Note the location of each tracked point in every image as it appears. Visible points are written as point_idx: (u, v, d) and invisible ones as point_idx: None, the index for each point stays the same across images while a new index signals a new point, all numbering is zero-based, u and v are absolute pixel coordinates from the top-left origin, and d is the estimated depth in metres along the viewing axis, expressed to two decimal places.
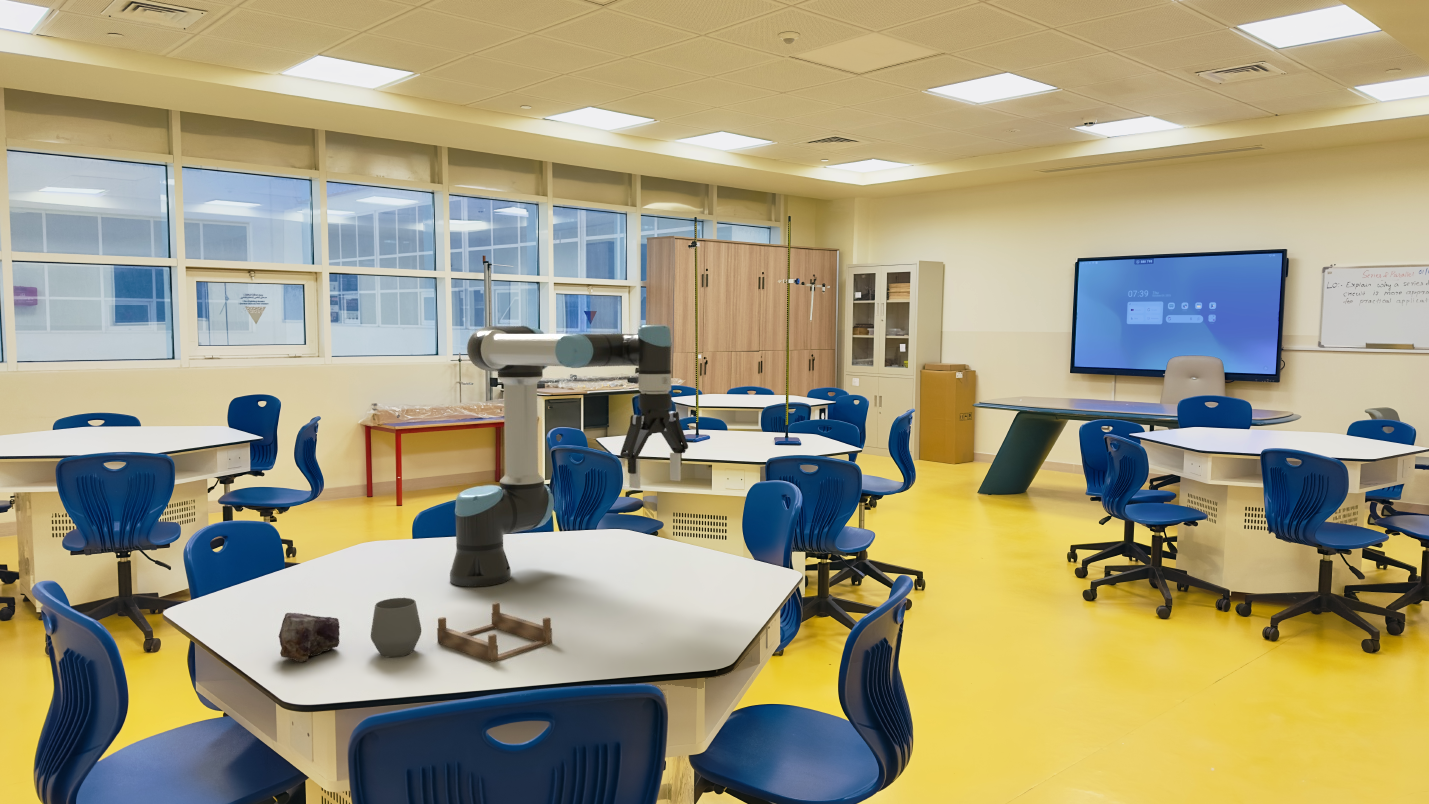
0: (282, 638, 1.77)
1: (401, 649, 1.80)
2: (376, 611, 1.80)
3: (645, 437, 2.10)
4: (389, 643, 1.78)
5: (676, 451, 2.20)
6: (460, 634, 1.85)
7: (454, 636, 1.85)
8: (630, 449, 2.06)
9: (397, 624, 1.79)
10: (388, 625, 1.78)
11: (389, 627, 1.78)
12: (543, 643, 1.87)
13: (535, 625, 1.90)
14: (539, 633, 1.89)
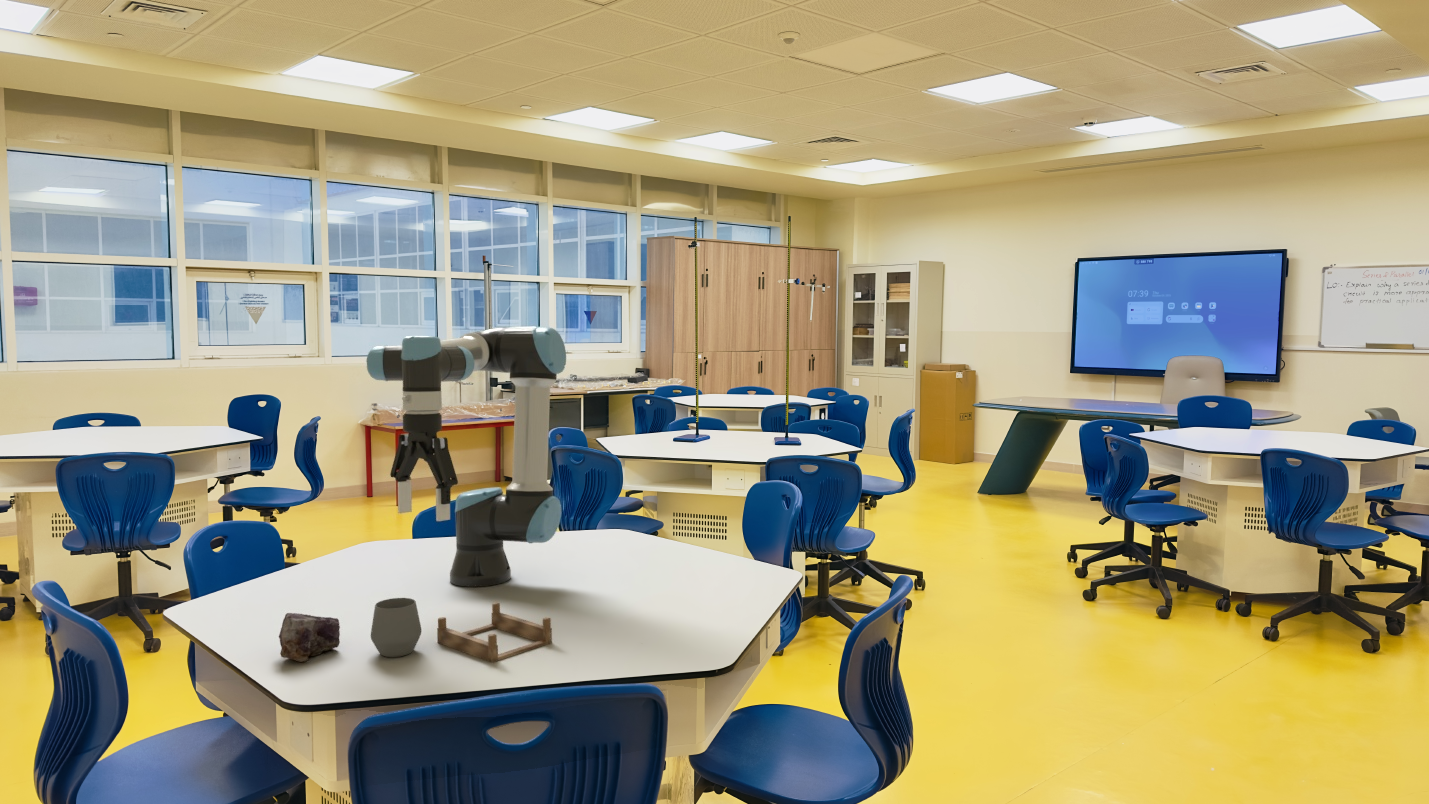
0: (282, 638, 1.77)
1: (401, 649, 1.80)
2: (376, 611, 1.80)
3: (405, 459, 1.90)
4: (389, 643, 1.78)
5: None
6: (460, 634, 1.85)
7: (454, 636, 1.85)
8: (392, 469, 1.93)
9: (397, 624, 1.79)
10: (388, 625, 1.78)
11: (389, 627, 1.78)
12: (543, 643, 1.87)
13: (535, 625, 1.90)
14: (539, 633, 1.89)
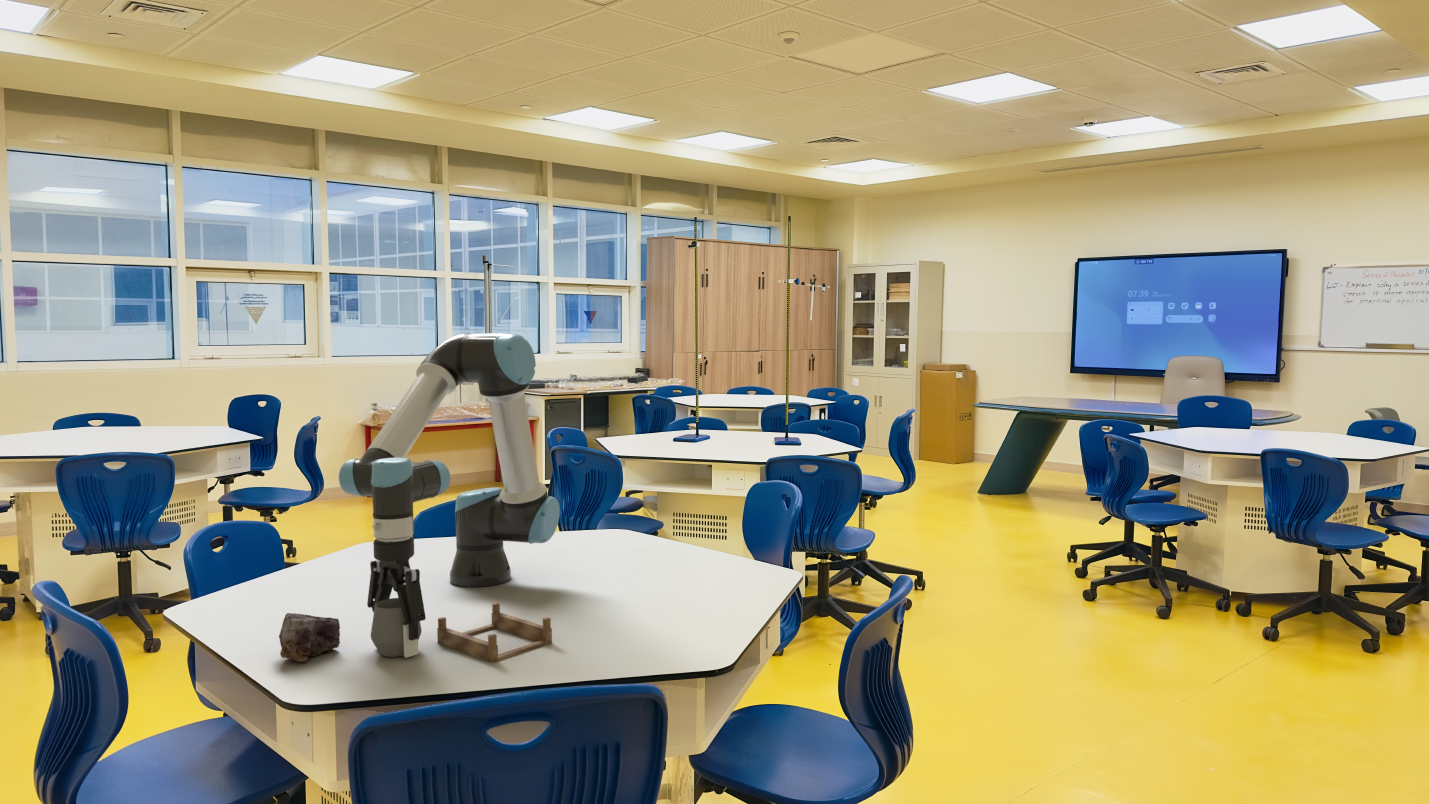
0: (282, 638, 1.77)
1: (401, 649, 1.80)
2: (376, 611, 1.80)
3: (379, 588, 1.84)
4: (389, 643, 1.78)
5: None
6: (460, 634, 1.85)
7: (454, 636, 1.85)
8: (368, 599, 1.86)
9: (397, 624, 1.79)
10: (388, 625, 1.78)
11: (389, 627, 1.78)
12: (543, 643, 1.87)
13: (535, 625, 1.90)
14: (539, 633, 1.89)
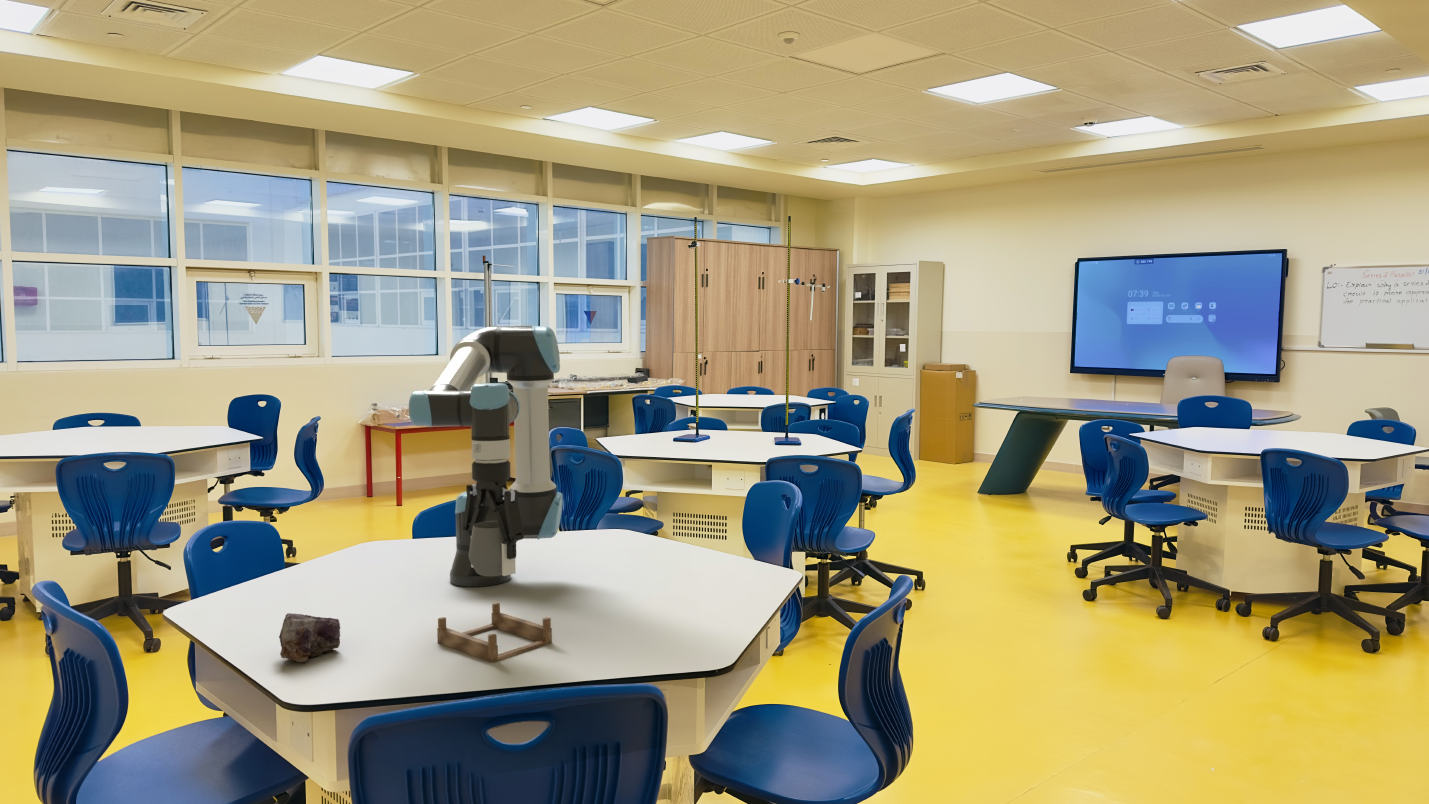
0: (282, 639, 1.77)
1: (499, 568, 1.84)
2: (474, 531, 1.85)
3: (475, 510, 1.88)
4: (488, 562, 1.83)
5: None
6: (460, 634, 1.85)
7: (454, 636, 1.85)
8: (464, 522, 1.91)
9: (495, 544, 1.83)
10: (487, 544, 1.83)
11: (488, 546, 1.83)
12: (543, 643, 1.87)
13: (535, 625, 1.90)
14: (539, 633, 1.89)
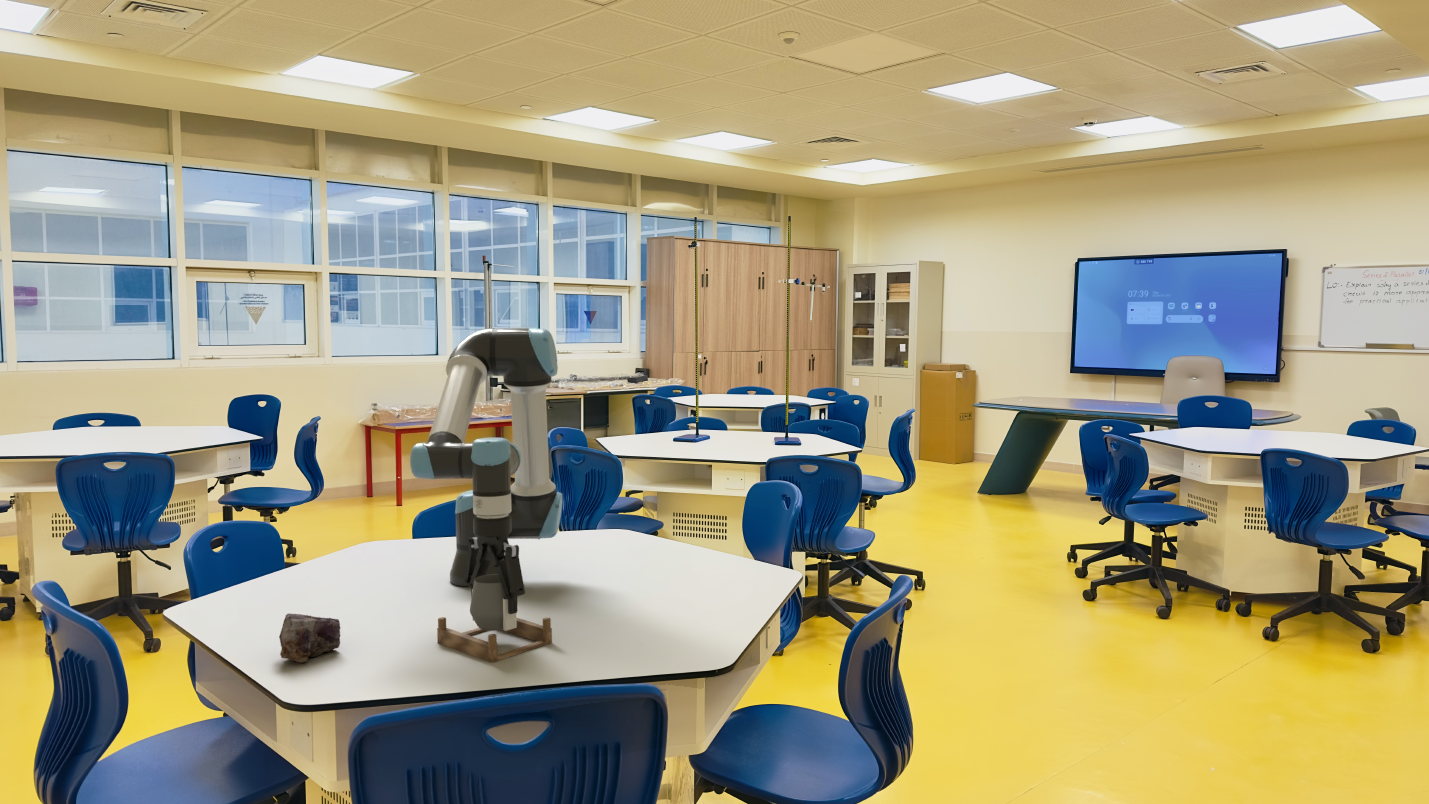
0: (282, 639, 1.76)
1: (500, 623, 1.85)
2: (476, 586, 1.85)
3: (477, 564, 1.89)
4: (489, 617, 1.84)
5: None
6: (460, 634, 1.85)
7: (454, 636, 1.85)
8: (465, 575, 1.92)
9: (497, 599, 1.84)
10: (488, 599, 1.84)
11: (489, 601, 1.84)
12: (543, 643, 1.87)
13: (535, 625, 1.90)
14: (539, 633, 1.89)
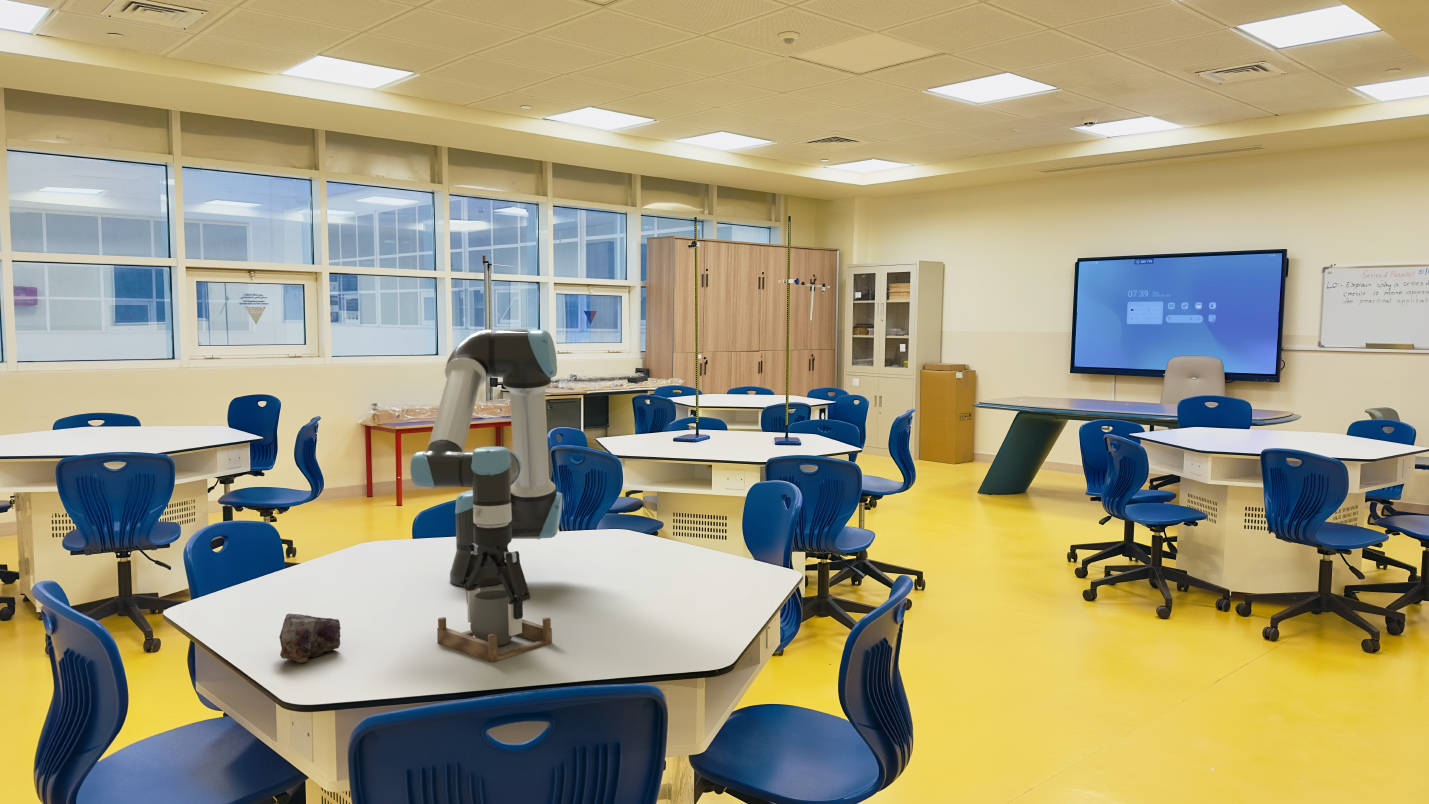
0: (282, 639, 1.76)
1: (501, 639, 1.86)
2: (476, 602, 1.86)
3: (475, 570, 1.90)
4: (490, 633, 1.84)
5: None
6: (460, 634, 1.85)
7: (454, 636, 1.85)
8: (461, 577, 1.93)
9: (497, 615, 1.85)
10: (489, 616, 1.84)
11: (490, 617, 1.84)
12: (543, 643, 1.87)
13: (535, 625, 1.90)
14: (539, 633, 1.89)
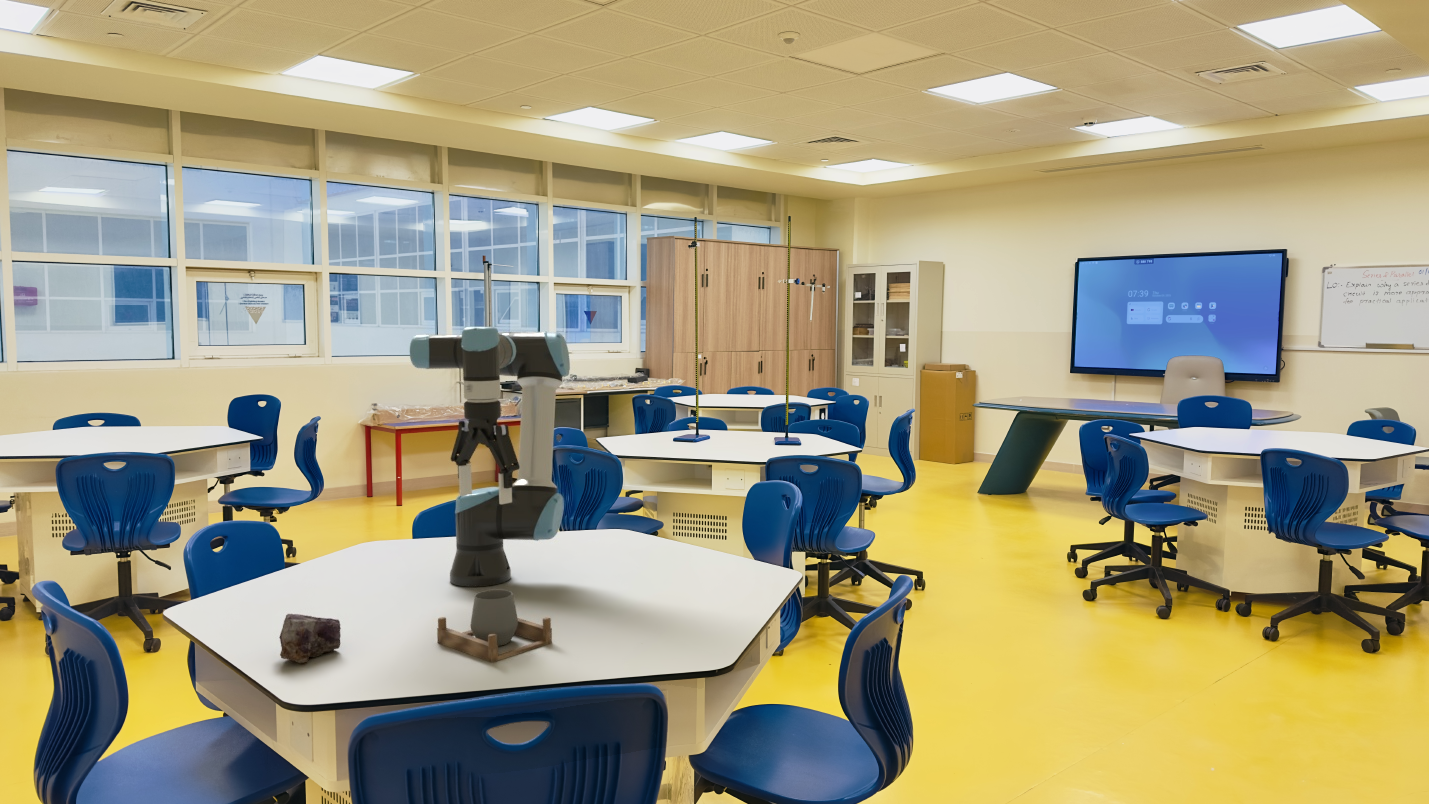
0: (282, 639, 1.76)
1: (501, 639, 1.86)
2: (476, 602, 1.86)
3: (465, 445, 1.99)
4: (490, 633, 1.84)
5: None
6: (460, 634, 1.85)
7: (454, 636, 1.85)
8: (453, 453, 2.02)
9: (497, 615, 1.85)
10: (489, 615, 1.84)
11: (490, 617, 1.84)
12: (543, 643, 1.87)
13: (535, 625, 1.90)
14: (539, 633, 1.89)
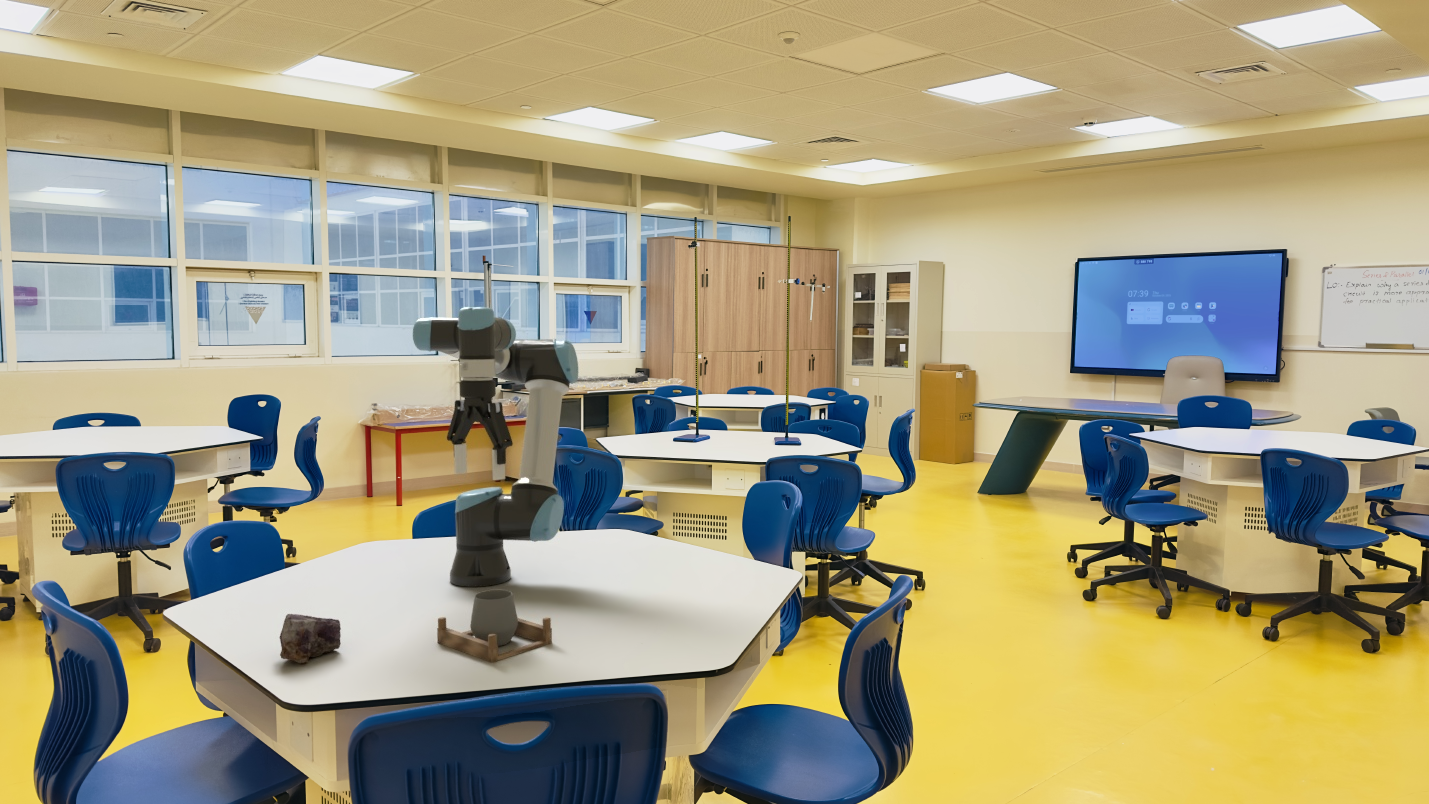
0: (282, 639, 1.76)
1: (501, 639, 1.86)
2: (476, 602, 1.86)
3: (461, 423, 2.03)
4: (490, 633, 1.84)
5: None
6: (460, 634, 1.85)
7: (454, 636, 1.85)
8: (449, 433, 2.07)
9: (497, 615, 1.85)
10: (489, 616, 1.84)
11: (490, 617, 1.84)
12: (543, 643, 1.87)
13: (535, 625, 1.90)
14: (539, 633, 1.89)
